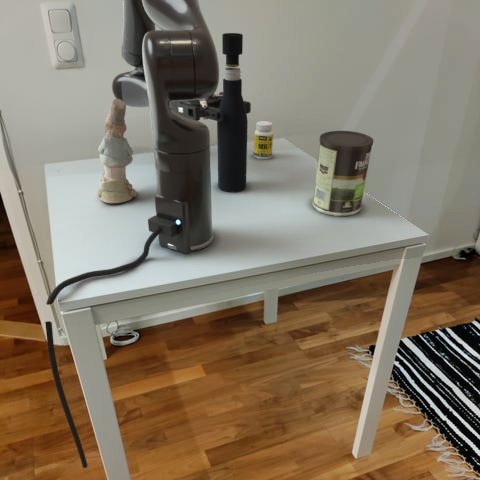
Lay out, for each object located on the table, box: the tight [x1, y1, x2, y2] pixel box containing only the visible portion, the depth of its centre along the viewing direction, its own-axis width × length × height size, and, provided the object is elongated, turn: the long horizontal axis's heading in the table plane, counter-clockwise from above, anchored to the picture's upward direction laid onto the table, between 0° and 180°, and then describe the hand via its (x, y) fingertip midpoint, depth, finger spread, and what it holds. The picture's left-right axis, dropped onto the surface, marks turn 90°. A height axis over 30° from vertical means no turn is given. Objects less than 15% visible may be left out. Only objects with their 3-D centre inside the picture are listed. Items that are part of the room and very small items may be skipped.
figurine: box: [97, 98, 138, 204], centre depth 96 cm, size 9×8×20 cm
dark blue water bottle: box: [216, 32, 249, 193], centre depth 98 cm, size 6×6×30 cm
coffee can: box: [311, 130, 374, 217], centre depth 95 cm, size 10×10×14 cm
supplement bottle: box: [253, 120, 274, 160], centre depth 121 cm, size 5×5×8 cm
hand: (236, 111), depth 97 cm, fingers open, 8 cm apart
